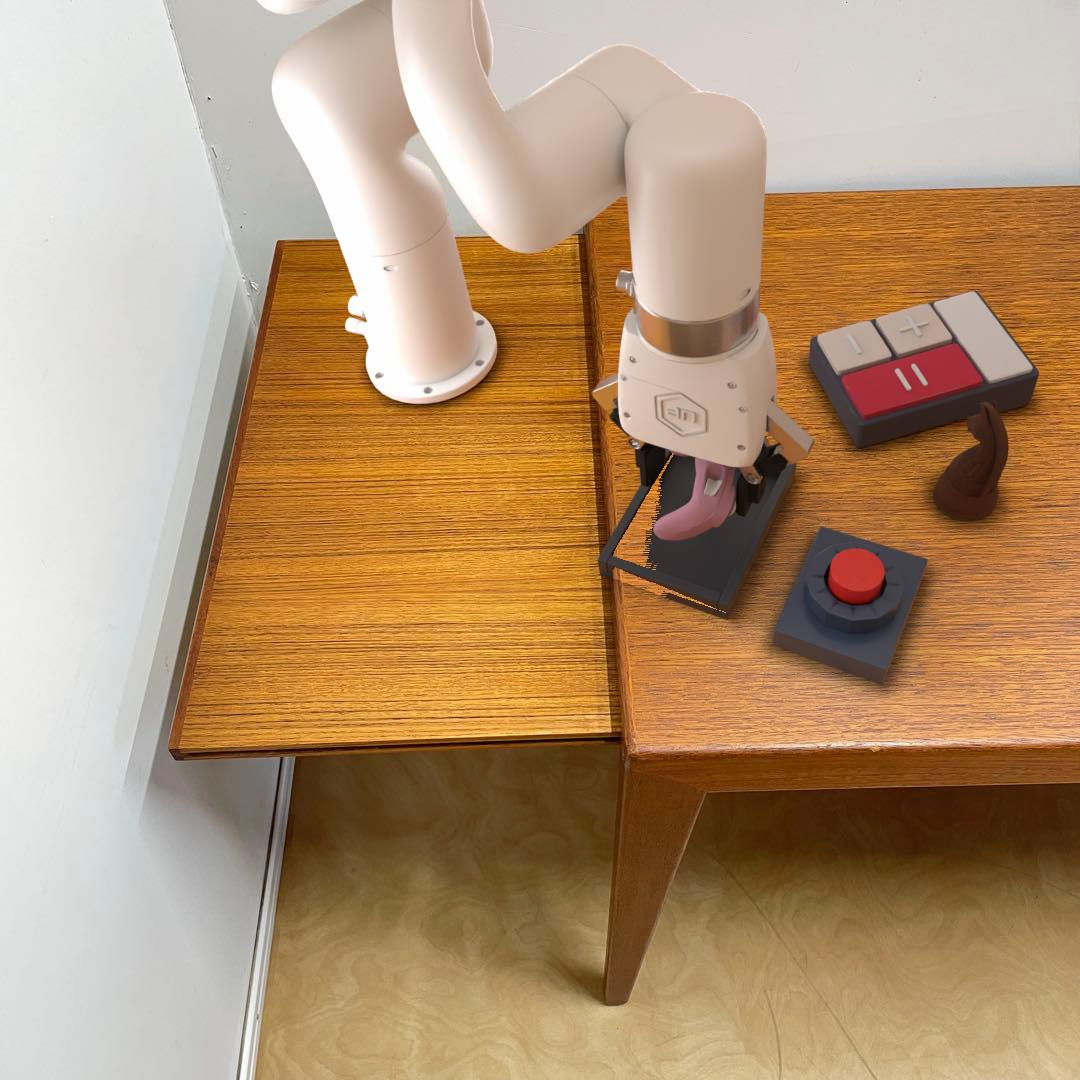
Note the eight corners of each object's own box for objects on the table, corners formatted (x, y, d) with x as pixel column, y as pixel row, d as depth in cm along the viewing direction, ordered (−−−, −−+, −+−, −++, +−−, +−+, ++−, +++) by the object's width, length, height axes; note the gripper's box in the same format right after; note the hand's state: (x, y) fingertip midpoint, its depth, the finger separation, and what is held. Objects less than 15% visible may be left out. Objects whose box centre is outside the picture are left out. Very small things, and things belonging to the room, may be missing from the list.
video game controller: (702, 561, 74) (748, 513, 68) (647, 540, 73) (688, 490, 68) (716, 461, 80) (759, 408, 74) (664, 440, 79) (703, 386, 73)
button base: (771, 645, 72) (775, 616, 69) (817, 542, 77) (822, 510, 73) (882, 685, 69) (891, 657, 66) (923, 575, 74) (933, 544, 70)
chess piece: (979, 470, 78) (1010, 380, 70) (1009, 519, 75) (1045, 431, 67) (923, 483, 78) (947, 394, 70) (950, 532, 75) (980, 446, 67)
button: (820, 594, 70) (823, 580, 68) (837, 555, 71) (840, 541, 70) (872, 611, 68) (875, 598, 67) (887, 571, 70) (891, 557, 69)
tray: (599, 574, 77) (597, 559, 76) (674, 443, 84) (673, 427, 83) (727, 620, 74) (727, 605, 72) (794, 479, 80) (796, 462, 79)
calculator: (808, 330, 85) (977, 281, 85) (806, 366, 88) (969, 319, 88) (860, 420, 78) (1044, 366, 78) (856, 455, 82) (1032, 404, 81)
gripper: (544, 312, 62) (575, 490, 76) (815, 380, 56) (794, 561, 70) (597, 240, 66) (617, 423, 80) (857, 296, 59) (828, 484, 73)
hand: (699, 486), depth 75 cm, fingers closed on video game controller, 7 cm apart
